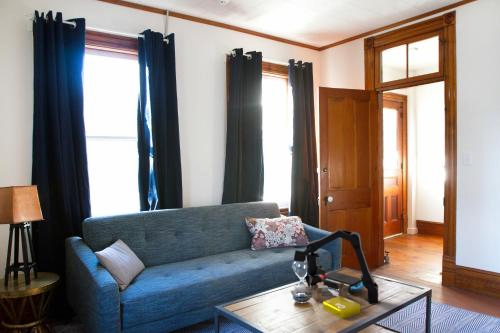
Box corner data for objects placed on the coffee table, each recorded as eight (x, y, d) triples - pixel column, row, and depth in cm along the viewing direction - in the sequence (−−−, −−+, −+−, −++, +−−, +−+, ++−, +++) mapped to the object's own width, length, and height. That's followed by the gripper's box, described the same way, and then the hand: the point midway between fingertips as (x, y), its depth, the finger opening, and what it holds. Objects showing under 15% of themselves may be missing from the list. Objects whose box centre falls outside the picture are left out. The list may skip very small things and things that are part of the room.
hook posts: (348, 299, 213) (348, 286, 212) (316, 302, 209) (316, 289, 209) (343, 295, 219) (343, 282, 219) (312, 297, 215) (312, 284, 215)
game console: (368, 280, 226) (356, 286, 216) (368, 290, 226) (356, 297, 216) (328, 269, 245) (315, 275, 235) (327, 279, 246) (315, 285, 235)
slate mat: (332, 295, 219) (332, 293, 219) (295, 298, 215) (295, 296, 215) (326, 289, 228) (326, 288, 228) (290, 292, 224) (290, 290, 224)
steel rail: (328, 292, 222) (328, 287, 221) (296, 294, 218) (296, 289, 218) (326, 290, 225) (326, 285, 225) (294, 292, 221) (294, 287, 221)
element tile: (362, 312, 197) (362, 303, 197) (342, 319, 189) (342, 310, 189) (340, 302, 210) (340, 294, 209) (321, 309, 201) (321, 300, 201)
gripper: (330, 267, 213) (330, 294, 214) (318, 257, 232) (318, 282, 233) (312, 268, 211) (311, 295, 212) (301, 258, 230) (301, 283, 231)
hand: (311, 288), depth 222 cm, fingers open, 7 cm apart
